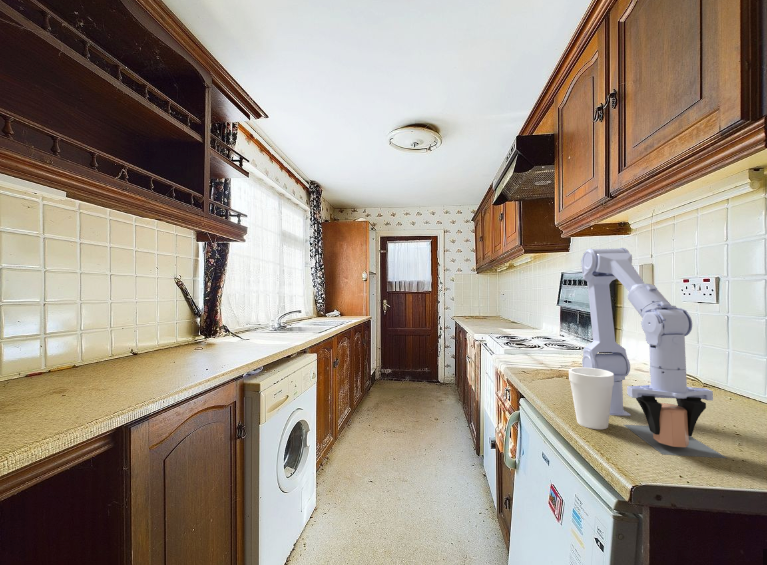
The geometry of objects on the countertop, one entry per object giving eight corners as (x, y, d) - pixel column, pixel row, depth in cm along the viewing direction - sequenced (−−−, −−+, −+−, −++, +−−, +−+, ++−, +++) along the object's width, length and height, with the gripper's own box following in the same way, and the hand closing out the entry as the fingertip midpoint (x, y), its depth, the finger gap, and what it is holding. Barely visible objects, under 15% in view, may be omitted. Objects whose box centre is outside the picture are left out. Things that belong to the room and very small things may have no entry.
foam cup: (564, 425, 82) (563, 372, 83) (576, 415, 89) (575, 365, 89) (610, 437, 76) (608, 378, 76) (620, 425, 82) (618, 371, 82)
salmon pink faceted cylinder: (649, 435, 72) (647, 402, 73) (676, 436, 72) (675, 403, 72) (664, 446, 67) (662, 410, 68) (694, 447, 66) (692, 411, 67)
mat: (623, 426, 81) (623, 424, 81) (675, 428, 79) (675, 426, 79) (662, 456, 67) (662, 454, 67) (727, 460, 65) (727, 458, 65)
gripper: (639, 370, 67) (642, 439, 67) (724, 372, 65) (727, 444, 64) (621, 363, 74) (623, 425, 74) (697, 364, 72) (699, 429, 71)
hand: (670, 433), depth 70 cm, fingers closed on salmon pink faceted cylinder, 5 cm apart
